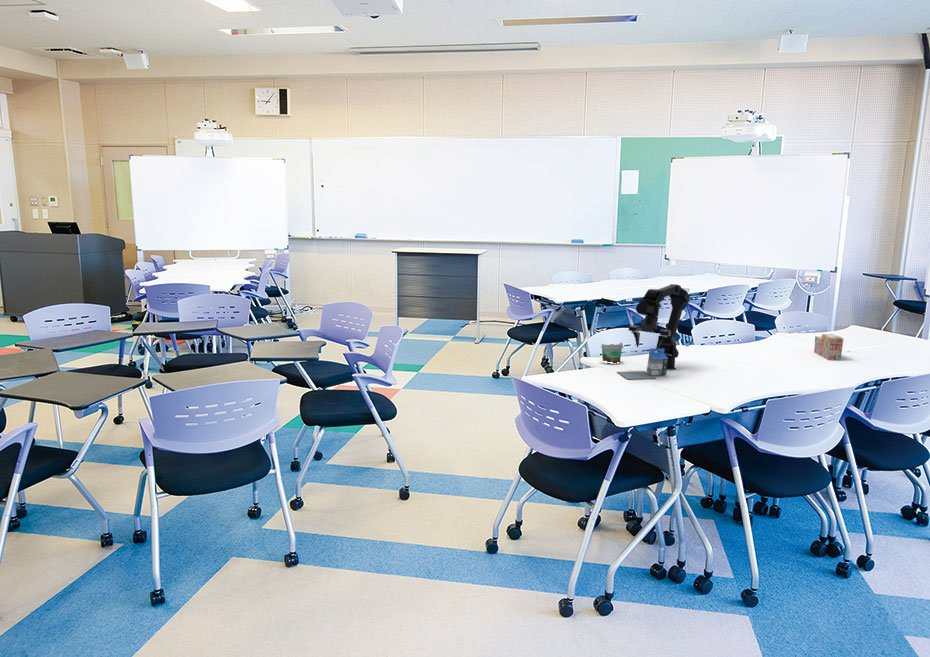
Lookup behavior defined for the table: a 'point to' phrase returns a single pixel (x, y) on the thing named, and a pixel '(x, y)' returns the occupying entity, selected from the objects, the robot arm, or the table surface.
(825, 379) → the table surface
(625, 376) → the mat
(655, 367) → the label tape cartridge
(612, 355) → the food container
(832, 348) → the printed cardboard box
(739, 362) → the table surface
